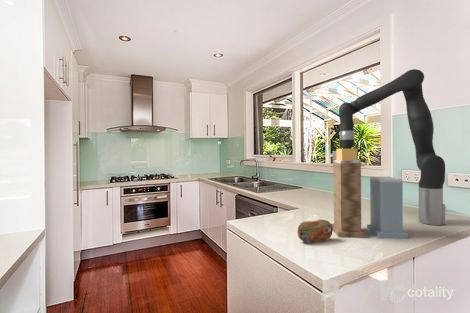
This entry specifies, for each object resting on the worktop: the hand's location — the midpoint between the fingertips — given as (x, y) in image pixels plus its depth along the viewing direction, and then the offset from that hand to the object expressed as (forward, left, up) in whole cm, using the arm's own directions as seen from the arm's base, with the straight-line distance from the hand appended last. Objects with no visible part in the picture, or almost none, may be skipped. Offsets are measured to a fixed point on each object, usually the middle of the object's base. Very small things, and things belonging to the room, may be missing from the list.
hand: (347, 167), depth 135 cm
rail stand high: (+10, +31, -26) cm, 41 cm away
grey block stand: (-6, +31, -26) cm, 41 cm away
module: (+10, +26, +6) cm, 28 cm away
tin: (+26, +42, -26) cm, 56 cm away
